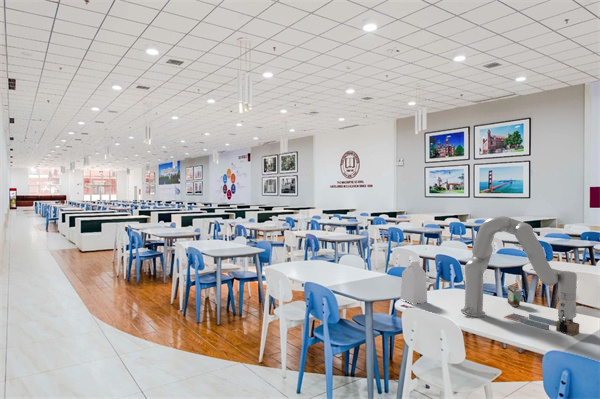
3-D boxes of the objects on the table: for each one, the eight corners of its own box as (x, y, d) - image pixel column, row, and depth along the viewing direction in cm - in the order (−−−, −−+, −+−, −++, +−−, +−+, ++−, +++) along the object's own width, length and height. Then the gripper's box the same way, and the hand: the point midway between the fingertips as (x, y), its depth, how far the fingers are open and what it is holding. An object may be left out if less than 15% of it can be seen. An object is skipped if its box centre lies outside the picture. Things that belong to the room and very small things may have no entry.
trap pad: (518, 321, 211) (518, 320, 211) (503, 317, 218) (503, 316, 218) (527, 317, 217) (527, 316, 217) (513, 313, 224) (513, 312, 224)
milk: (413, 304, 239) (414, 263, 238) (400, 300, 249) (401, 260, 248) (427, 302, 245) (428, 261, 244) (413, 297, 255) (414, 258, 254)
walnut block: (574, 335, 191) (574, 325, 191) (556, 330, 198) (556, 321, 198) (579, 333, 195) (579, 323, 195) (561, 328, 201) (561, 319, 201)
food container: (524, 308, 234) (525, 292, 234) (513, 307, 236) (514, 291, 235) (517, 302, 246) (517, 287, 246) (506, 302, 248) (507, 286, 247)
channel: (547, 330, 199) (548, 325, 199) (519, 322, 210) (520, 317, 210) (557, 325, 205) (557, 321, 205) (529, 318, 216) (529, 314, 216)
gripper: (568, 300, 188) (567, 336, 189) (582, 294, 198) (581, 329, 199) (551, 296, 195) (550, 331, 195) (566, 291, 204) (565, 325, 205)
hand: (566, 330), depth 197 cm, fingers closed on walnut block, 6 cm apart
